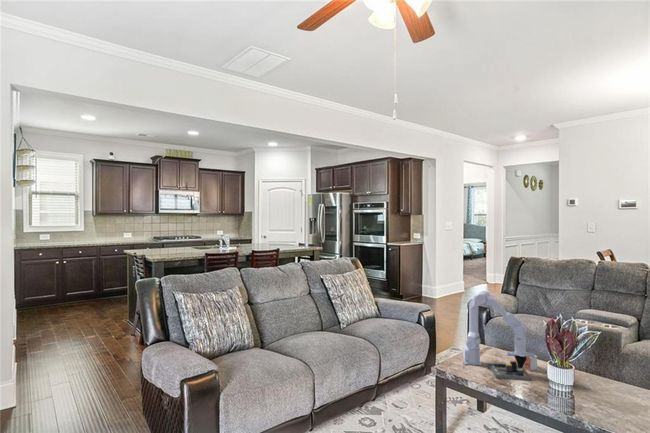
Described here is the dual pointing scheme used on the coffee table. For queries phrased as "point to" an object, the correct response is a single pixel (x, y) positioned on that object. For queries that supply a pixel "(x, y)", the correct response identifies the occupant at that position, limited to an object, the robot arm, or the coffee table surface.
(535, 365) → the small box
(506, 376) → the breaker panel
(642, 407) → the coffee table surface
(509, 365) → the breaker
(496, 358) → the coffee table surface
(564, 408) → the coffee table surface
